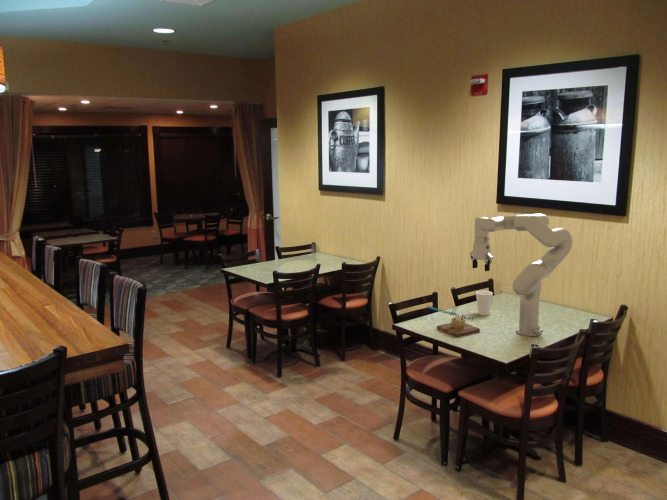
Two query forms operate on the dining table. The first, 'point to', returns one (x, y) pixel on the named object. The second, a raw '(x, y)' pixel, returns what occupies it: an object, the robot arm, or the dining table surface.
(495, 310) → the dining table surface
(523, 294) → the robot arm
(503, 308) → the dining table surface
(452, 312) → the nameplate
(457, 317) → the steel post
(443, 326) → the walnut board
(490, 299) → the foam cup
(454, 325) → the brass ring
